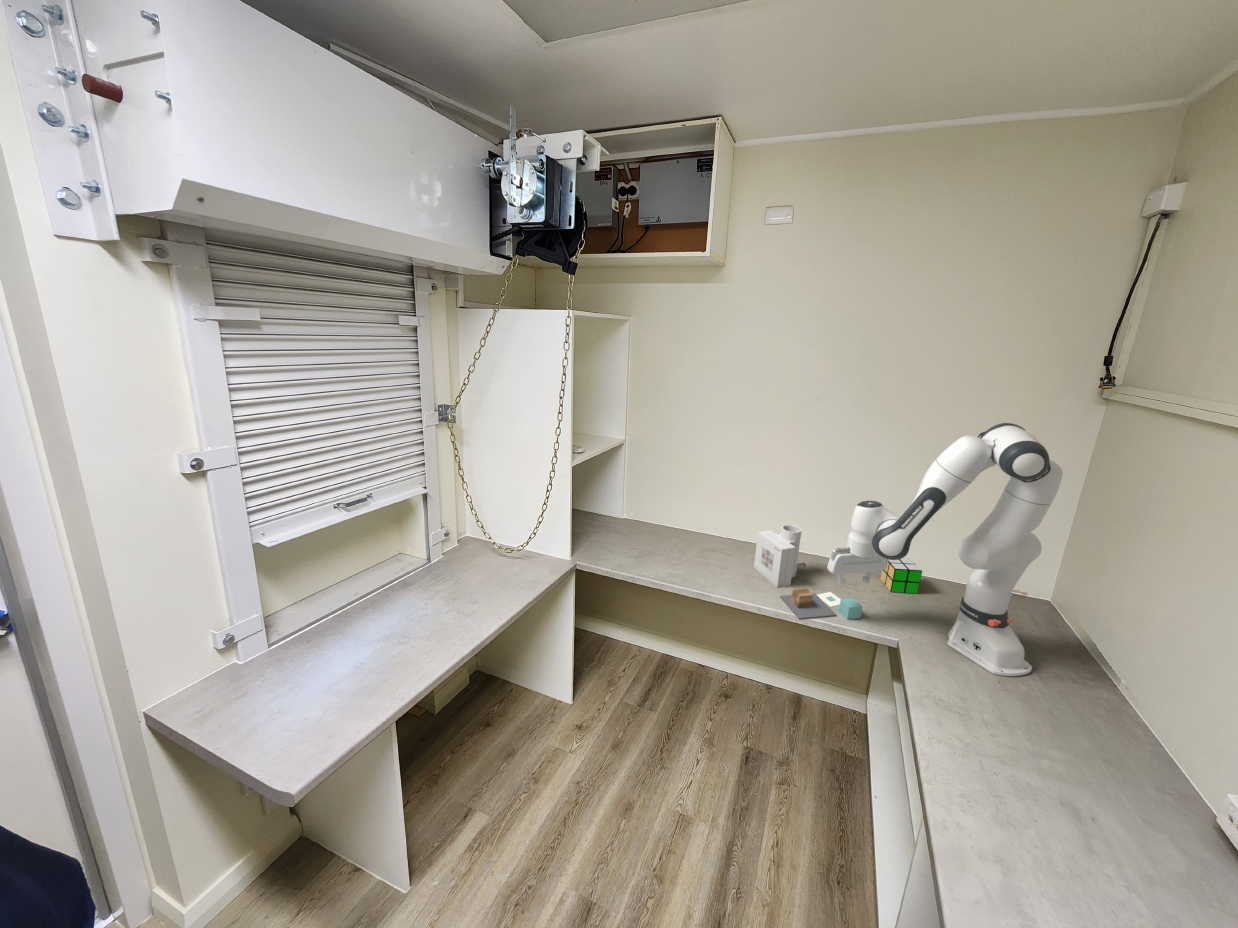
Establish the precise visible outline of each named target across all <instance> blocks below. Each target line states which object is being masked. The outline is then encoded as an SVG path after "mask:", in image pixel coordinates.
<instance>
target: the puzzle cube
mask: <svg viewBox="0 0 1238 928" xmlns="http://www.w3.org/2000/svg"><path fill="white" fill-rule="evenodd" d="M922 575H923V570H922V569H921V568H920V567H919V566H918V565H917V564H916V563H915V562H914V561H913V559H911V558H910V557H909V558H906V557H903V558H902V559H899V560H889V559H888V564H887V568H886V569H885V570H884V571H881V574H880V580H881V582H882V583H883V584H884V585H885V586H886V588H887V589H888V590H889V592H890V593H900V594H902V593H905V594H917V595H918V593H919V590H920V589H919V587H920V584H921V583H920V582H921V579H922Z"/></svg>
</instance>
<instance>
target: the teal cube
mask: <svg viewBox="0 0 1238 928" xmlns="http://www.w3.org/2000/svg"><path fill="white" fill-rule="evenodd" d="M840 599H841V598H840ZM838 606H839V607H838V613H839V614H840V615H841V616H842V617H843V618H845V620H847V621H849V620H860V619H861V616H862V611H863V605H861V603H859V602H858V601H857V600H856V599H855V598H842V599H841V601H840V605H838Z"/></svg>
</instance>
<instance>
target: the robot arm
mask: <svg viewBox="0 0 1238 928" xmlns="http://www.w3.org/2000/svg"><path fill="white" fill-rule="evenodd" d="M996 466H998V467H999V468H1000V469H1001V471H1002V472H1003V473H1005V474H1006V475H1008V476H1010V477H1009V480H1008V481H1007V484H1006V486H1005V487H1004V489H1003V491H1002V493H1001V495H1000V496H999V498H998V501H997V502H996V505H995V506H994V507H993V509H992V511H991V512H990V513H989V514H988V516H987V517H986V518H985V519H984V520H983V521H982V522H981V523H980V525H978V526H977V528H976V529H974V531H973V532H971V533H970V534H969V535H968V536H966V537H965V538H963V539H962V540H960V542H959V543H958V545H957V553H958V557H959V559H960V560H961V562H962V563H963V564H964V565H965V566H967V567H968V568H971V569H974V571H973V572H972V573H971V574H970V575H969V577H968V579H967V584H966V587H965V591H964V593H963V594H964V595H963V596H962V598H961V601H960V602H959V603H960V604H959V607H958V608H959V613H958V614H957V618H956V620H955V622H954V623H953V625H952V627H951V628H950V630H949V631H948V633H947V637H948V641H947V643H946V644H947V645H948V646H949V647H951V648H952V649H953V650H954V651H957V652H958V653H960V654H961V655H963V656H964V657H966V658H968V659H969V660H971V661H972V662H974V663H976V665H978V666H980V667H982V668H983V669H985V670H986V671H988V672H989V673H991V674H993V675H998V676H1001V677H1018V676H1019V677H1020V676H1024V675H1027V674H1030V673H1031V672H1032V671H1033V670H1032V669H1033V667H1032V665H1031V664H1030V663H1029V662H1028V661H1027V660H1025V648H1024V646H1023V644H1022V642H1021V641H1020V638H1019V637H1018V636H1017V635H1016V633H1015V632H1014V631H1013V629H1012V628H1011V627H1010V623H1013V622H1014V618H1009V613H1008V606H1009V602H1010V600H1011V597H1012V594H1013V591H1014V588H1015V587H1016V585H1017V583H1018V582H1019V580H1020V579H1021V577H1022V576H1023V575H1024V572H1025V571H1026V570H1027V568H1028V567H1029V566H1030V565H1031V564H1032V563H1033V561H1036V559H1037V558H1039V556H1040V555H1041V554H1042V548H1043V547H1042V546H1043V545H1042V542H1041V541H1040V539H1039V538H1038V536H1037V535H1036V534H1034V533H1033V531H1035V530H1036V529H1037V528H1038V527H1039V526H1040V525H1041V523H1042V521H1043V520H1044V518H1045V516H1046V515H1047V513H1048V511H1049V509H1050V507H1051V506H1052V504H1053V502H1054V500H1055V498H1056V496H1057V494H1058V490H1059V489H1060V486H1061V483H1062V478H1063V476H1064V475H1063V469H1062V468H1061V466H1060V465H1059V464H1058V463H1057V462H1055V461H1054V460H1052V459H1050V455H1049V453H1048V450H1047V448H1045V446H1044V445H1042V443H1041V442H1040V441H1039V439H1038V438H1037V437H1036V436H1034V435H1033V434H1031V433H1029V432H1028V431H1027V430H1026V429H1025V428H1024V427H1023V426H1020V425H1018V424H1016V423H1010V422H1001V423H997V424H995V425H993V426H991V427H990V428H988V429H986V430H985V431H983V432H981V433H979V434H978V436H974V435H963V436H961V437H959V438H958V439H956V440H955V441H954V442H953V443H951V444H949V446H948V447H946V448H945V449H944V450H943V452H941V453H940V454H939V455H938V456H937V457H936V459H934V461H932V463H931V464H930V465H929V467H928V468H927V470H926V472H925V473H924V475H923V477H922V479H921V482H920V484H919V488H918V491H917V493H916V495H915V496H914V499H913V500H912V502H911V503H910V505H909V506H908V507H907V508H906V509H905V511H903V513H902V514H901V515H899V514H896V513H894V512H892V511H890V510H889V509H888V508H886V507H885V506H884V504H883V503H882V502H879V501H876V500H863V501H861V502H859V503H858V504H856V505H855V508H854V509H853V512H852V516H851V519H850V530H849V533H848V535H847V541H846V545H845V547H842V548H841V547H837V548H836V549H834V550H833V551H831V554H830V557H829V560H828V564H827V570H828V571H829V572H830V573H831V574H832V575H834V576H837V579H838V580H837V582H838V584H839V585H840V586H841V585H846V579H845V578H844V576H845V575H852V574H865V573H866V574H865V575H863V577H862V581H863V583H870V582H871V579H872V578H873V576H874V575H875V574H876V573H877V572H882V571H884V570H885V569H886V568H887V564H888V559H889V560H899V559H902V558H906V556H907V555H908V554H909V550H910V547H911V543H912V540H913V539H914V538H915V536H917V534H918V533H919V532H920V531H921V530H922V528H923V527H924V526H925V525H926V524H927V523H928V522H929V521H930V520H931V519H932V518H933V516H935V515H936V513H938V511H940V510H941V509H942V508H943V507H945V506H946V505H947V504H948V503H949V502H951V501H952V500H953V499H955V498H956V497H958V495H960V494H961V493H962V492H963V491H964V490H965V489H967V488H968V487H969V486H970V485H971V484H972V483H973V482H974V481H976V479H977V477H978V476H979V475H980V474H981V473H983V472H984V471H985V470H988V469H989V468H993V467H996Z"/></svg>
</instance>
